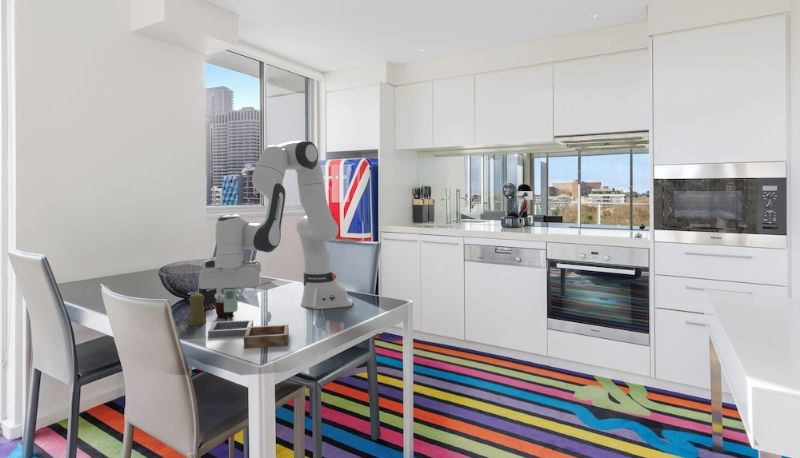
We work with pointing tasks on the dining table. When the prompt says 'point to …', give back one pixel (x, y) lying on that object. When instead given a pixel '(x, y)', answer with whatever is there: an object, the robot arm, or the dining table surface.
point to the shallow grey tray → (229, 332)
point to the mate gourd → (222, 309)
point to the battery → (208, 297)
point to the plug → (230, 300)
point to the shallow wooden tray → (266, 336)
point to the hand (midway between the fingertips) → (230, 300)
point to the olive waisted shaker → (196, 310)
